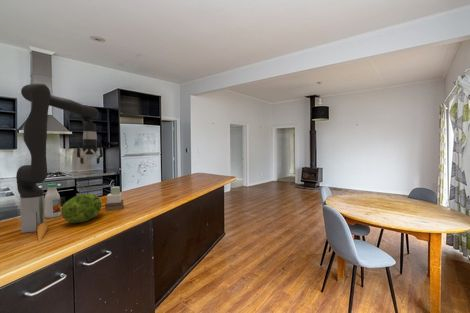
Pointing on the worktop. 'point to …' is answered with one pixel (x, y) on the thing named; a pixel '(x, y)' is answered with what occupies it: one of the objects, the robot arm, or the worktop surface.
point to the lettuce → (81, 208)
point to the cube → (115, 190)
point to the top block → (114, 198)
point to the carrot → (41, 230)
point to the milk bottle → (52, 202)
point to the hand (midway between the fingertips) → (90, 164)
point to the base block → (114, 206)
